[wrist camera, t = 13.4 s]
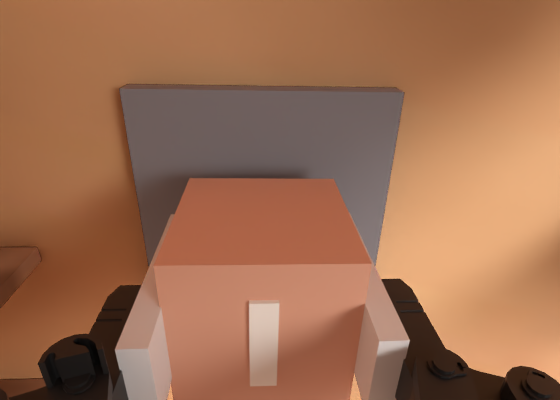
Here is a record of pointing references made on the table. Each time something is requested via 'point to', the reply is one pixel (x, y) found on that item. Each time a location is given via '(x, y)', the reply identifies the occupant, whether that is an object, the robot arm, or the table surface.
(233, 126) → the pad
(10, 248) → the bay rack
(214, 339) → the letter cube
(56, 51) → the table surface
